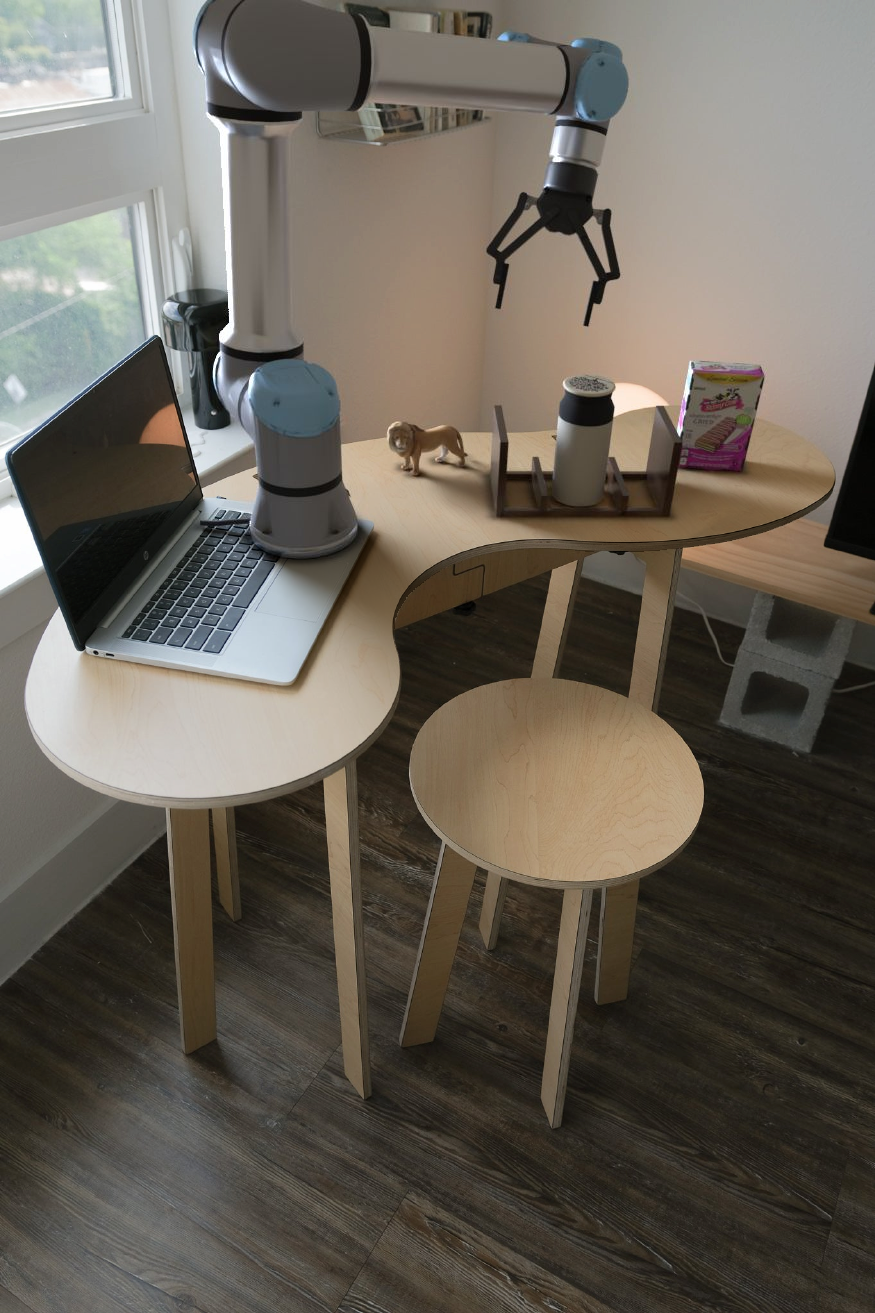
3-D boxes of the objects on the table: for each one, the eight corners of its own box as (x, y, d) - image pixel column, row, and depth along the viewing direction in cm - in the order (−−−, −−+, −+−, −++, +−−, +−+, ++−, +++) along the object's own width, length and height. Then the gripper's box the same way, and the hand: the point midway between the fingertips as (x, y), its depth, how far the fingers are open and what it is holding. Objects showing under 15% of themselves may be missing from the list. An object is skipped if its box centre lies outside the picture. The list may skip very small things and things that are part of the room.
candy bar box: (674, 469, 162) (691, 370, 152) (671, 455, 166) (688, 359, 156) (744, 473, 161) (766, 374, 151) (740, 459, 165) (761, 362, 155)
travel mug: (579, 513, 150) (592, 399, 139) (540, 494, 154) (550, 382, 143) (613, 497, 154) (628, 384, 143) (574, 479, 159) (586, 369, 148)
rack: (496, 516, 149) (500, 441, 141) (490, 476, 159) (493, 404, 152) (669, 516, 149) (682, 442, 142) (652, 476, 160) (663, 405, 152)
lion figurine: (396, 484, 156) (396, 431, 151) (380, 471, 160) (379, 418, 154) (475, 464, 162) (478, 411, 157) (458, 451, 166) (459, 400, 161)
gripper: (656, 183, 148) (620, 332, 155) (490, 151, 148) (463, 301, 156) (661, 178, 141) (624, 334, 148) (487, 145, 141) (459, 301, 149)
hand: (541, 317), depth 152 cm, fingers open, 13 cm apart
